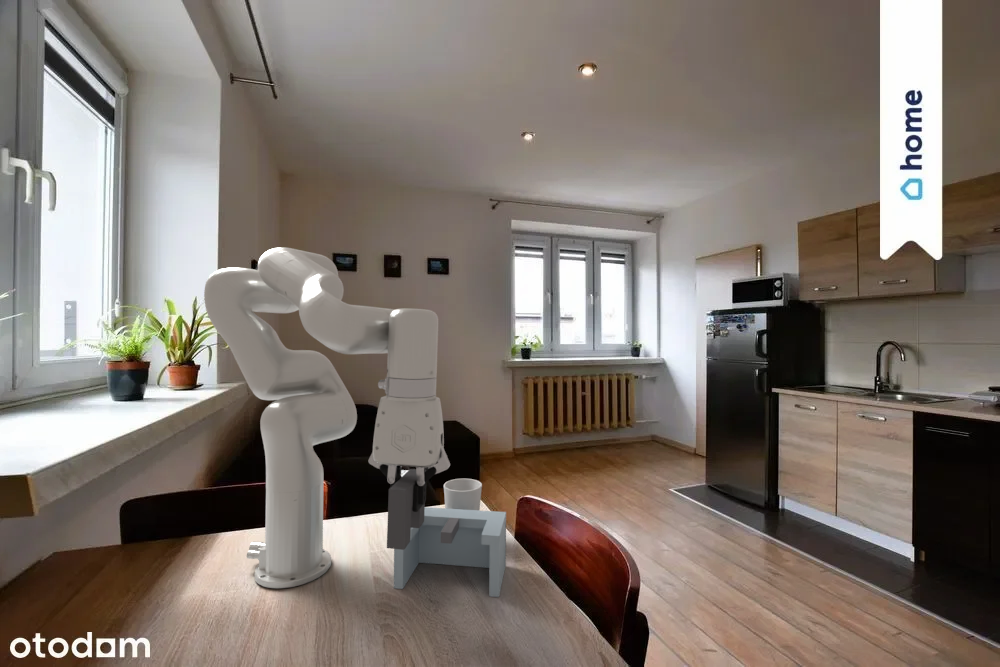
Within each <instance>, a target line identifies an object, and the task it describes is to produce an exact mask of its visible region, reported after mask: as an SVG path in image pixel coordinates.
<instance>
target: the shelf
mask: <svg viewBox="0 0 1000 667" xmlns="http://www.w3.org/2000/svg"><path fill="white" fill-rule="evenodd" d="M506 550H507V511H494V510H493V511H492V510H481V509H480V510H463V509H446V508H445V507H443V508H441V507H427V506H425V511H424V522H423V524H422V525H421V527H420V528H411V531H410V542H409V544H408V545H407V547H406V548H405V549H404V550H401V549H393V589H398V590H403V589H404V588H405V586H406V585H407V582H408V581H409V580H410V578H411V576H412V574H413V573H414V572H415V570H416V568H417V566H418V565H419V564H420V563H421V564H422V563H423V564H433V565H448V566H458V567H459V566H461V567H473V568H487V569H489V572H488V573H489V574H488V576H489V577H488V578H489V582H488V583H489V585H488V589H489V590H488V591H489V592H488V593H489V594H488V595H489V597H491V598H492V597H494V598H500V594H501V590H502V584H503V580H504V575H505V571H506V566H507V565H506V564H507V562H506V560H507V558H506V557H507V551H506Z"/></svg>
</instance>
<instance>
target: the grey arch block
mask: <svg viewBox="0 0 1000 667" xmlns="http://www.w3.org/2000/svg"><path fill="white" fill-rule="evenodd" d="M408 470H409V471H408V472H407V473H406V474H405V475H403V476H402V477H401V478H400V479H399V480H398V481H397V482H396V483H395V484H394V485H393V486H392V487H390V486H389V488H388V502H387V503H388V504H387V505H388V506H387V528H386V530H387V532H386V549H390V550H391V549H392V550H394V549H401V550H404V549H405V548H406V547H407V545H408V544H409V542H410V531H411V528H420V527H421V525H422V524H423V522H424V511H425V507H426V506H425V505H426V504H424V505H422V507H421V508H420V509H419V510H418V512H413V511H412V506H413V488H414V486H415V485H416V480H417V474H416V469H415V468H410V469H408Z"/></svg>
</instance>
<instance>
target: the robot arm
mask: <svg viewBox="0 0 1000 667" xmlns="http://www.w3.org/2000/svg"><path fill="white" fill-rule="evenodd" d="M337 268H338V267H337V266H336V264H335V263H334V261H332V259H330V258H329V257H328V256H325V255H323V254H319V253H315V252H311V251H310V252H309V251H305V250H300V249H296V248H291V247H283V246H282V247H274V248H271V249H268V250H267V251H265V252H264V253H263V254H262V255H261V256H260V257H259V259H258V262H257V269H253V268H246V267H226V268H220V269H218V270H216V271H214V272H213V273H211V274H210V275H209V276H208V278H207V279H206V281H205V285H204V290H203V291H204V292H203V293H204V294H203V297H204V298H203V299H204V306H205V310H206V314H207V315H208V318H209V320H210V322H211V324H212V325H213V327H214V329H215V330H216V331H217V333H218V334H219V335H220V337H221V338H222V339H223V341H225V343H226V344H227V346H228V347H229V350H230V351H231V353H232V354H233V358H234V359H235V362H236V364H237V366H238V368H239V369H240V371H241V373H242V375H243V377H244V379H245V382H246V383H247V385H248V387H249V389H250V390H251V392H252V393H253V395H254V396H255V397H256V398H258V399H260V400H263V401H272V402H271V403H270V404H268V406H266V407H265V408H264V410H263V411H262V413H261V416H260V421H259V422H260V423H259V424H260V434H261V439H262V444H263V450H264V456H265V457H264V458H265V528H264V530H265V532H264V534H265V535H264V538H265V539H264V541H252V542H251V543H250V545H249V547H248V548H249V549H248V551H247V553H246V559H251V560H255V559H256V560H258V565H257V567H255V569H254V570H255V571H254V580H255V582H256V583H257V584H258V585H260V586H262V587H264V588H269V589H287V588H288V589H289V588H293V587H297V586H301V585H305V584H308V583H310V582H312V581H315V580H317V579H318V578H320V577H321V576H323V575H324V574H325V573H326V572H327V571H329V569H330V568H331V565H332V555H331V553H330V552H329V551H327V550H326V549H323V546H324V545H323V543H324V542H323V541H324V540H323V537H324V531H323V530H324V467H323V464H322V462H321V459H320V458H319V457H318V455H317V453H316V452H315V450H314V446H316V445H319V444H323V443H327V442H331V441H334V440H335V441H336V440H338V439H341V438H344V437H346V436H347V435H349V434H350V433H352V432H353V431H354V429H355V427H356V425H357V422H358V421H357V420H358V414H357V412H358V411H357V408H356V405H355V402H354V399H353V398H352V395H351V394H350V392H349V391H348V389H347V387H346V385H345V384H344V382H343V380H342V379H341V377H340V375H339V373H338V371H337V370H336V368H335V366H334V365H333V363H332V362H331V361H330V359H329V358H328V357H327V356H326V355H325V354H322V353H321V352H319V351H316V350H308V349H307V350H306V349H298V350H297V349H295V350H293V349H290V348H287V347H286V346H285V345H284V344H283V342H282V340H281V339H280V337H279V335H278V333H277V331H276V330H275V329H274V328H273V327H272V326H271V325H270V323H268V322H267V321H265V320H264V319H262V318H261V317H260V316H258V315H257V314H256V313H269V314H270V313H271V314H272V313H273V314H290V313H295V312H297V311H298V314H299V319H300V321H301V324H302V326H303V329H304V330H305V331H306V332H307V333H308V334H309V335H310V337H312V338H313V339H314V340H317V341H318V342H319V343H320V344H322V345H324V346H325V348H328V349H330V350H332V351H334V352H336V353H340V354H343V355H363V354H365V355H368V354H375V355H378V354H387V364H386V365H387V366H386V376H385V378H384V379H378V383H377V386H378V388H379V389H383V390H384V394H386V395H384V396H381V397H380V399H379V403H378V407H377V411H376V412H377V414H376V417H375V424H374V431H373V439H372V440H373V442H372V452H371V454H370V456H369V458H368V464H369V465H371V466H373V467H374V468H376V469H379V470H380V472H381V474H383V476H385V478H386V479H387V480H386V481H387V483H388V484H390V485H389V488H390V487H392V486H393V485H394V484H395V483H396V482H397V481H398V480H399V479H400V478H401V477H402V476H401V470H403V469H402V467H413V468H414V467H415V468H416V474H417V480H416V485H415V486H414V488H413V506H412V511H413V512H418V510H419V509H420V508H421V507H422V505H424V504H425V503H426V501H427V483H428V481H430V479H432V478H433V476H435V475H437V474H440V473H442V472H444V471H447V470H448V469H449V468H450V466H451V463H450V462H451V461H450V460H449V458H448V455H447V453H446V451H445V448H444V447H445V445H444V444H445V438H444V437H445V436H444V419H443V410H442V409H443V408H442V402H441V399H440V397H438V396H437V377H438V376H437V374H438V373H437V371H438V350H439V349H438V343H439V317H438V315H437V313H436V312H435V311H433V310H431V309H426V308H425V309H424V308H404V307H403V308H396V309H394V308H386V307H378V306H369V305H358V304H349V303H347V302H344V301H342V300H343V297H344V292H345V290H344V289H345V288H344V284H343V282H342V280H341V278H340V277H339V271H338V269H337ZM425 505H426V504H425Z"/></svg>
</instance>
